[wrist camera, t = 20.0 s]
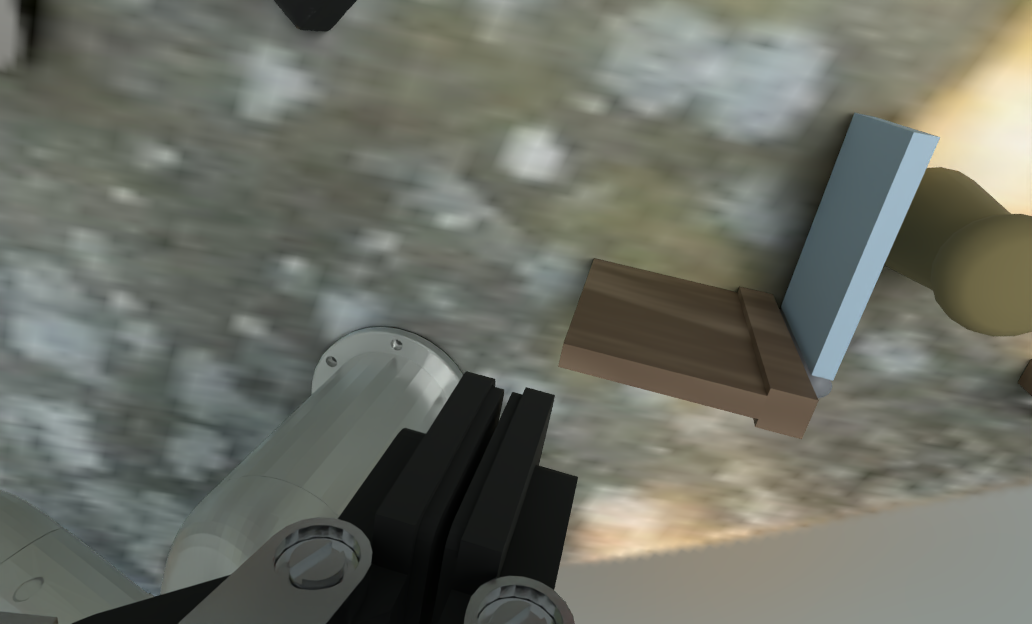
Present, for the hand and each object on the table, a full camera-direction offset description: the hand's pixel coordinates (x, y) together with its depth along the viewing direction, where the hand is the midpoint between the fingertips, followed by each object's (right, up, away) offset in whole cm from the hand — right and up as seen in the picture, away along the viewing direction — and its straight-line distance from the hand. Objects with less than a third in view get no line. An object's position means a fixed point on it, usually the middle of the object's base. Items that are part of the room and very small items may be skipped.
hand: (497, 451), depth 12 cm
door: (+18, +7, +25) cm, 31 cm away
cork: (+23, +8, +24) cm, 34 cm away
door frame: (+18, +2, +27) cm, 33 cm away
